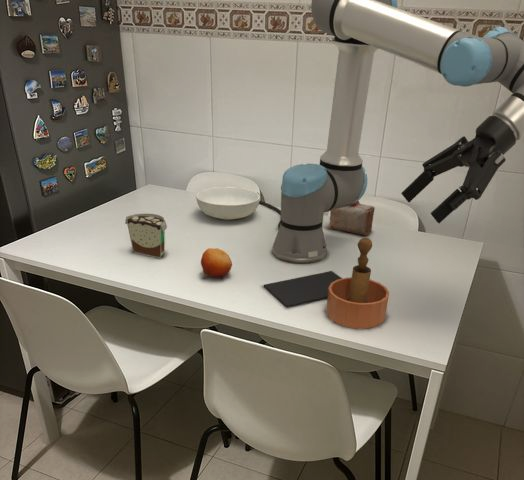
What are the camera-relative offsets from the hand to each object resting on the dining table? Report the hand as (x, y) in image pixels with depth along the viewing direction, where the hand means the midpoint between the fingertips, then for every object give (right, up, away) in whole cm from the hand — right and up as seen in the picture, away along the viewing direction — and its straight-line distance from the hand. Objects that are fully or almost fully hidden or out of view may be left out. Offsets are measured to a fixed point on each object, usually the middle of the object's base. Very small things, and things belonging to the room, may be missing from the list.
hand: (418, 207), depth 107 cm
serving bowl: (-44, +15, +66) cm, 81 cm away
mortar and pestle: (-11, -21, +11) cm, 27 cm away
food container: (-63, -2, +39) cm, 74 cm away
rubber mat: (-20, -14, +21) cm, 33 cm away
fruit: (-44, -10, +27) cm, 53 cm away
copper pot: (-11, -21, +11) cm, 26 cm away
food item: (-5, +9, +57) cm, 58 cm away
